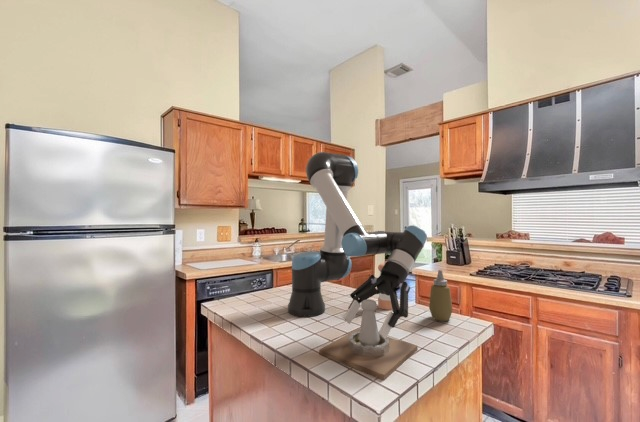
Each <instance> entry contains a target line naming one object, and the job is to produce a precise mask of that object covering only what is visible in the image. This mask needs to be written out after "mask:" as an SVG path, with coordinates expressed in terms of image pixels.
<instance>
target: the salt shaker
mask: <svg viewBox="0 0 640 422" xmlns="http://www.w3.org/2000/svg"><path fill="white" fill-rule="evenodd" d="M360 305H361V306H360V307H361V309H362V310H363V311H362V315H361V316H362V317H361V323H360V327H359V329H360V334H359V341H360V344H362V345H366V346H376V345H378V344H379V340H380V338H379V333H378V332H379V328H378V324H377V323H378V322H377V318H376V313H375V312H376V310H377V307H378V303H377V302H376V300H374V299H370V298H368V299H366V300H363V301H362V302H361V303H360Z"/></svg>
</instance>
